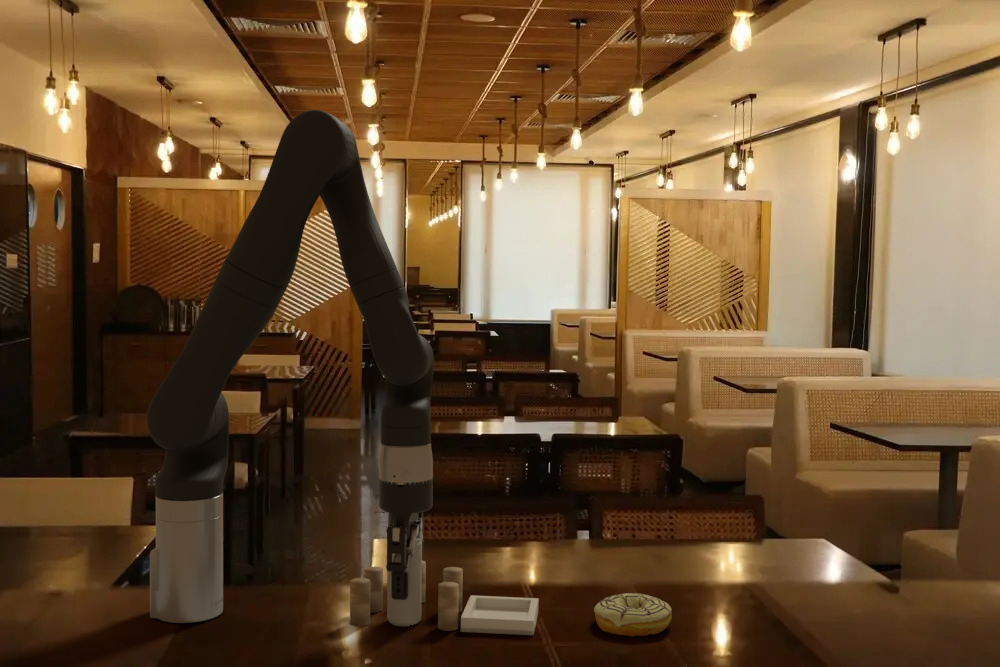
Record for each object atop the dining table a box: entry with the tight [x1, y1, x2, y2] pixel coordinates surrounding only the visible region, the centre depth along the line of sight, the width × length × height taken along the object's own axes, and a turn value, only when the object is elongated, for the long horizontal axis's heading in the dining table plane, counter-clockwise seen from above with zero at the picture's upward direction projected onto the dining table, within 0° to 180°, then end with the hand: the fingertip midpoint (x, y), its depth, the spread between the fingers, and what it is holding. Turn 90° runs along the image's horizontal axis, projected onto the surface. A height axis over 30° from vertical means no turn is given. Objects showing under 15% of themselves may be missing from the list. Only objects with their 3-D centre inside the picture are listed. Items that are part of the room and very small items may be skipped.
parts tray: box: [460, 594, 540, 636], centre depth 144 cm, size 10×10×2 cm
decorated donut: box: [593, 592, 673, 638], centre depth 143 cm, size 10×11×4 cm
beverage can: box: [386, 536, 423, 627], centre depth 143 cm, size 5×5×12 cm
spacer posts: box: [349, 559, 464, 632], centre depth 147 cm, size 15×13×6 cm
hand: (406, 589), depth 143 cm, fingers open, 8 cm apart
